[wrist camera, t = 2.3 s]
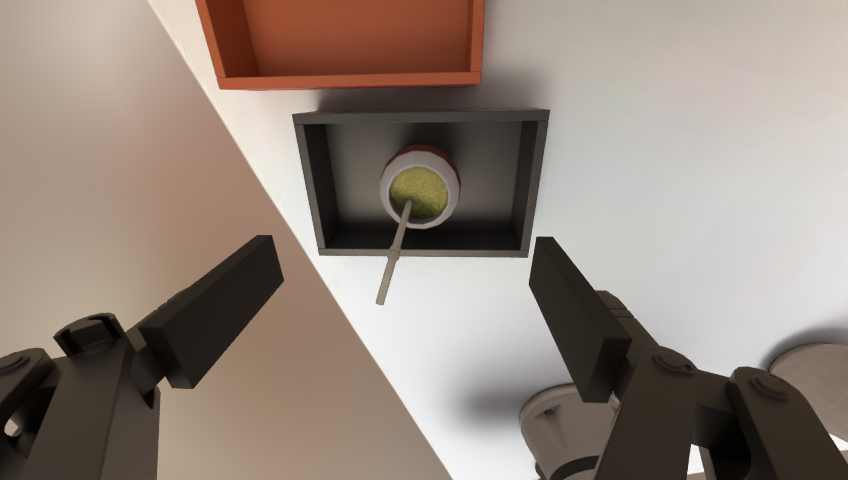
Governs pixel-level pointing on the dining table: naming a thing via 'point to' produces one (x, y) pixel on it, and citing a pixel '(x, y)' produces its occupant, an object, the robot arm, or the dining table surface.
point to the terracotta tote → (343, 43)
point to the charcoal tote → (447, 131)
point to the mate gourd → (416, 195)
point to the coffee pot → (819, 381)
